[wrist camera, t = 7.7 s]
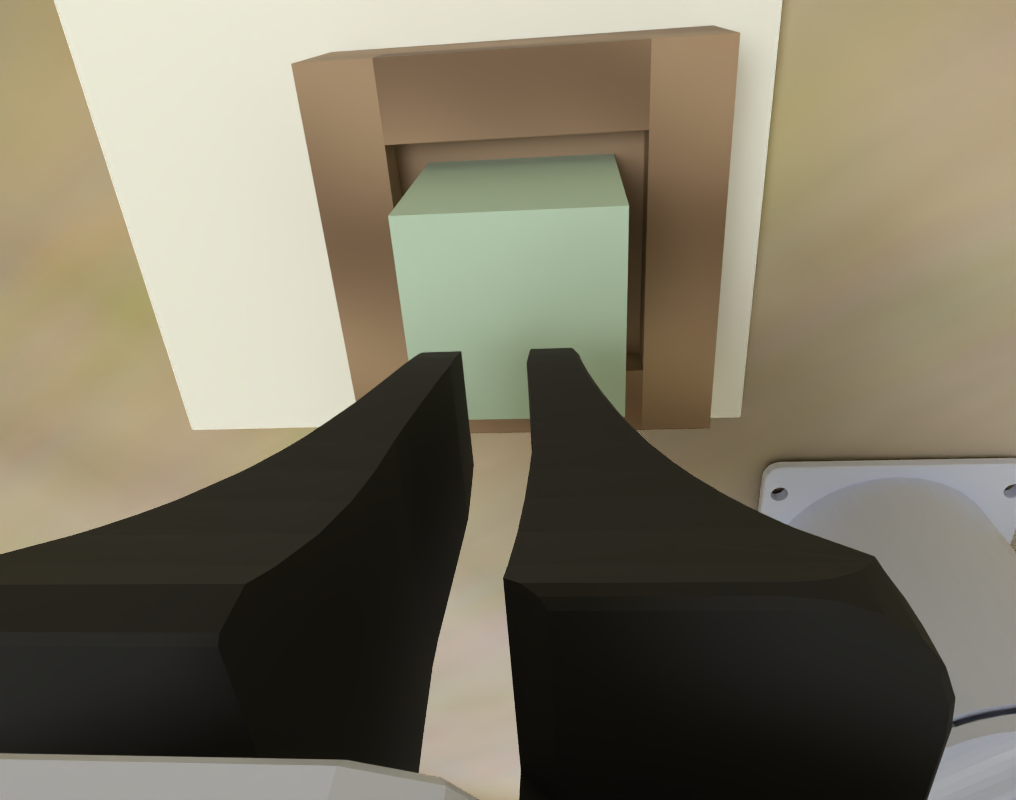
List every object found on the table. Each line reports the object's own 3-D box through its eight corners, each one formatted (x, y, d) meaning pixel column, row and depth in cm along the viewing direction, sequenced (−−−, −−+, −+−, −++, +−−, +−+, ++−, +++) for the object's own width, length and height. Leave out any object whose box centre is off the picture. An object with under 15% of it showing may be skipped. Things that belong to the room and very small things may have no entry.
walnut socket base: (691, 373, 21) (709, 428, 19) (385, 382, 22) (362, 435, 20) (713, 25, 17) (740, 32, 14) (331, 51, 18) (291, 63, 15)
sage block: (612, 325, 19) (624, 417, 15) (447, 330, 19) (417, 420, 15) (613, 153, 17) (628, 206, 13) (428, 162, 17) (388, 215, 13)
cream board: (735, 403, 23) (740, 417, 22) (203, 417, 24) (192, 429, 23) (848, -781, 12) (865, -828, 11) (-121, -623, 13) (-158, -655, 13)
